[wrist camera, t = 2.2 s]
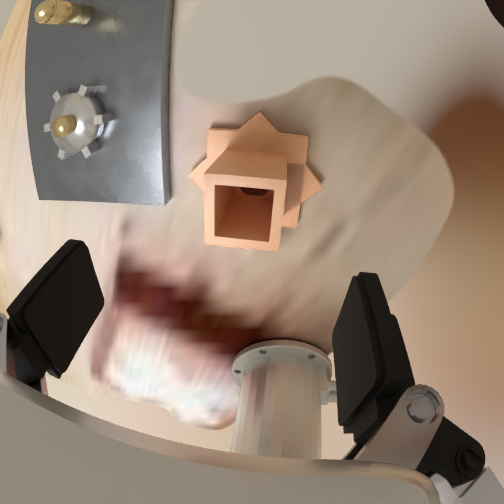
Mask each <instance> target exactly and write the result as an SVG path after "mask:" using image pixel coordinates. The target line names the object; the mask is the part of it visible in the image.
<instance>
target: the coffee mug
mask: <svg viewBox="0 0 504 504" xmlns="http://www.w3.org/2000/svg"><path fill="white" fill-rule="evenodd" d="M485 2H486V4H487V6H488V7H489V9H490V11H491V13H492V14H493V16H494V17H495V18H496V20H497V21H498V22H499V23H500V24H501V25H502V26H503V27H504V0H485Z"/></svg>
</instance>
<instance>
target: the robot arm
mask: <svg viewBox="0 0 504 504" xmlns="http://www.w3.org/2000/svg"><path fill="white" fill-rule="evenodd" d="M103 306H104V297H103V294H102V291H101V288H100V285H99V282H98V279H97V276H96V273H95V270H94V266H93V263H92V260H91V256H90V253H89V249H88V247H87V246H86V245H85V243H84V242H83V241H81V240H73V239H70V240H68V241H67V242H66V243H65V244H64V245H63V246H62V247H61V248H60V249H59V250H58V251H57V252H56V253H55V254H54V255H53V256H52V257H51V258H50V259H49V260H48V262H47V263H46V264H45V265H44V266H43V267H42V268H41V269H40V270H39V271H38V272H37V274H36V275H35V276H34V277H33V278H32V279H31V280H30V282H29V283H28V284H27V285H26V286H25V287H24V289H23V290H22V291H21V292H20V293H19V295H18V296H17V297H16V298H15V300H14V301H13V302H12V303H11V305H10V306H9V307H8V308H7V310H6V311H7V313H8V314H9V316H10V318H9V319H7V318H6V316H5V315H4V314H3V313H0V504H504V489H503V487H502V486H501V484H500V483H499V481H498V480H497V478H496V477H495V475H494V473H493V472H492V471H491V469H490V468H489V467H487V468H485V467H484V464H485V453H484V450H483V448H482V446H481V445H480V443H479V442H478V441H476V440H475V439H474V438H472V437H471V436H469V435H468V434H467V433H465V432H464V431H463V430H461V429H460V428H459V427H457V426H456V425H455V424H453V423H452V422H451V421H449V420H448V419H447V418H445V417H444V416H443V415H444V403H443V400H442V398H441V396H440V395H439V393H438V392H437V391H435V390H434V389H433V388H431V387H429V386H427V385H421V384H419V385H415V381H414V377H413V373H412V369H411V366H410V362H409V358H408V355H407V351H406V348H405V344H404V341H403V337H402V334H401V331H400V328H399V324H398V321H397V319H396V317H395V316H394V315H393V314H391V313H390V310H389V307H388V303H387V300H386V297H385V294H384V291H383V289H382V286H381V283H380V280H379V277H378V275H377V274H376V273H367V272H360V273H359V274H358V276H353V277H352V280H351V283H350V286H349V289H348V292H347V295H346V297H345V300H344V303H343V306H342V309H341V311H340V314H339V317H338V320H337V322H336V325H335V327H334V330H333V335H332V343H333V354H334V364H335V377H336V381H331V376H332V364H331V361H330V359H329V358H328V356H327V355H326V354H325V353H324V352H323V351H322V350H320V349H318V348H316V347H315V346H312V345H309V344H307V343H303V342H299V341H293V340H269V341H263V342H259V343H255V344H252V345H250V346H248V347H246V348H244V349H243V350H241V351H240V352H239V353H238V354H237V355H236V356H235V358H234V360H233V364H232V376H233V378H234V380H235V381H236V382H237V384H239V385H240V386H241V392H240V398H239V404H238V410H237V416H236V422H235V428H234V434H233V439H232V445H231V451H230V452H224V451H218V450H212V449H207V448H201V447H196V446H192V445H187V444H182V443H177V442H174V441H170V440H166V439H161V438H158V437H154V436H151V435H147V434H144V433H140V432H137V431H134V430H130V429H127V428H124V427H122V426H118V425H116V424H113V423H110V422H107V421H105V420H102V419H99V418H97V417H94V416H92V415H89V414H87V413H84V412H82V411H80V410H77V409H75V408H73V407H70V406H68V405H66V404H64V403H61V402H59V401H57V400H55V399H53V398H51V397H49V396H48V391H47V385H46V379H45V373H46V371H47V372H48V373H49V374H50V375H52V376H54V377H56V378H58V379H60V377H61V375H62V373H64V372H65V371H66V370H67V369H68V367H69V365H70V363H71V361H72V359H73V358H74V356H75V354H76V352H77V350H78V349H79V347H80V345H81V343H82V342H83V340H84V338H85V336H86V335H87V333H88V331H89V330H90V328H91V326H92V325H93V323H94V321H95V320H96V318H97V316H98V315H99V313H100V312H101V310H102V308H103ZM328 402H336V403H337V408H338V423H339V425H340V426H343V427H344V428H343V429H344V433H353V434H354V442H355V444H354V446H353V447H352V448H351V449H350V451H349V452H348V453H347V454H346V455H345V456H344V457H343V459H342V460H327V459H325V460H324V459H321V405H323V404H324V405H326V404H327V403H328Z"/></svg>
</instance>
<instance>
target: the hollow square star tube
mask: <svg viewBox="0 0 504 504" xmlns="http://www.w3.org/2000/svg"><path fill="white" fill-rule="evenodd" d="M308 141H309V137H308V136H306V135H298V134H290V133H281V132H278V131H277V129H276V128H275V127H274V126H273V125H272V124H271V123H270V122H269V120H268V119H267V118H266V117H265V116H264V115H263V114H262V113H261V112H258V113H257V114H256V115H255V116H253V117H252V118H251V119H250V120H249V121H247V122H246V123H245V124H244V125H243V126H242V127H240V128H239V129H227V128H209V129H208V130H207V158H205V159H204V160H203V161H202V162H201V163H200V164H199V165H198V166H197V167H196V168H195V169H194V170H193V171H192V172H191V173H190V174H189V175H188V176H189V177H190V178H191V179H192V180H193V181H194V182H195V183H196V184H197V185H198V186H199V187H200V188H201V189H202V190H203V191H204V234H205V244H210V245H219V246H228V247H237V248H246V249H255V250H264V251H273V252H278V251H279V244H280V236H281V228H282V226H283V227H292V228H297V223H298V216H299V209H300V203H302V202H303V201H305V200H306V199H308V198H309V197H310V196H312V195H313V194H315V193H316V192H317V191H319V190H320V189H322V188H323V187H322V184H321V182H320V181H319V180H318V179H317V177H316V176H315V175H314V174H313V172H312V171H311V170H310V169H309V167H308V166H307V165H306V157H307V149H308ZM240 187H249V188H260V189H270V191H268V192H267V193H266V194H264V195H263V196H259V195H249V194H245V193H244V192H243V191H242V189H241V188H240Z"/></svg>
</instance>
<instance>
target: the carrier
mask: <svg viewBox="0 0 504 504" xmlns="http://www.w3.org/2000/svg"><path fill="white" fill-rule="evenodd" d="M173 1H174V0H32V2H31V8H30V14H29V22H28V31H27V42H26V59H25V98H26V116H27V128H28V137H29V146H30V153H31V160H32V166H33V172H34V177H35V183H36V188H37V192H38V197H39V200H64V201H91V202H112V203H131V204H147V205H162V206H165V205H166V204H167V203H168V201H169V200H170V199H171V189H170V168H169V134H168V90H169V57H170V38H171V24H172V12H173Z"/></svg>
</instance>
